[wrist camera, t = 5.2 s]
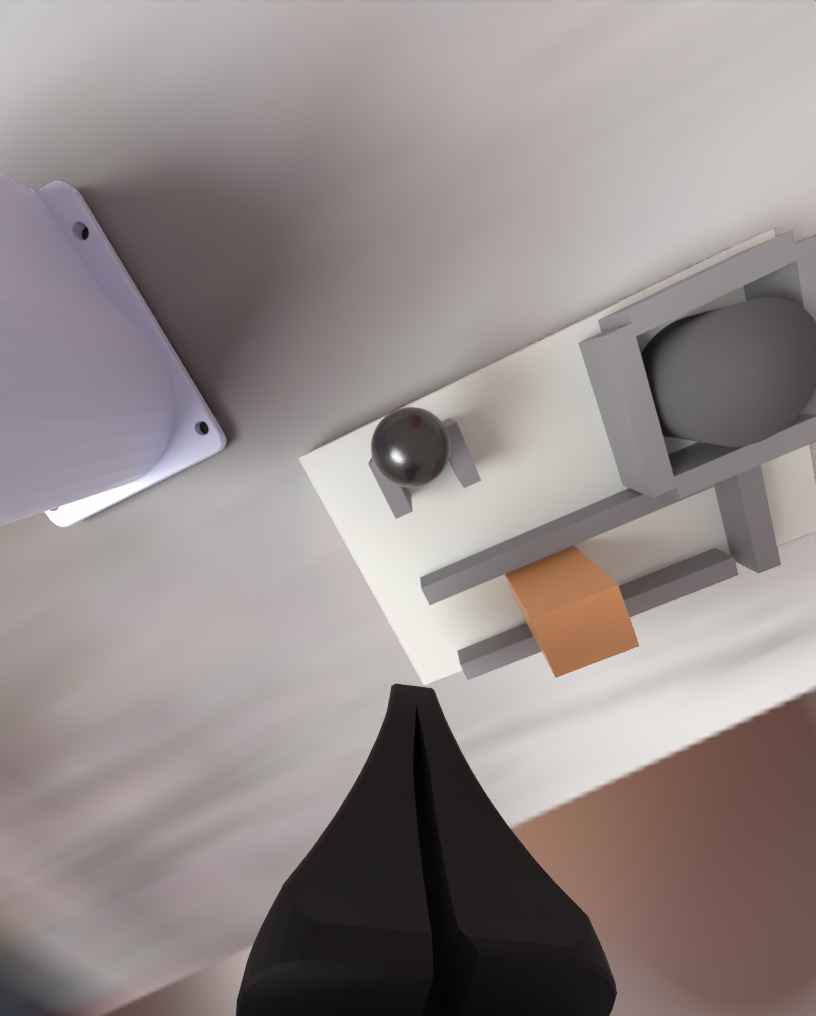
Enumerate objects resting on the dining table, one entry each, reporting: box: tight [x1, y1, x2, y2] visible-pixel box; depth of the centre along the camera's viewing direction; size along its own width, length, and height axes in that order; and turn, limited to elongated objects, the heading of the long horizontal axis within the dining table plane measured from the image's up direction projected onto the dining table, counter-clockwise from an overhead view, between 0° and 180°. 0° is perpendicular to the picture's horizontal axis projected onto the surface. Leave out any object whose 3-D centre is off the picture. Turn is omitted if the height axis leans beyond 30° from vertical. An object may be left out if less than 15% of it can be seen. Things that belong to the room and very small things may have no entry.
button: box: [641, 297, 816, 447], centre depth 12 cm, size 4×4×2 cm
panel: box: [299, 228, 816, 685], centre depth 14 cm, size 11×17×4 cm, turn 115°
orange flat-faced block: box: [505, 545, 639, 677], centre depth 14 cm, size 2×3×3 cm
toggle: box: [371, 407, 451, 488], centre depth 11 cm, size 2×2×5 cm
